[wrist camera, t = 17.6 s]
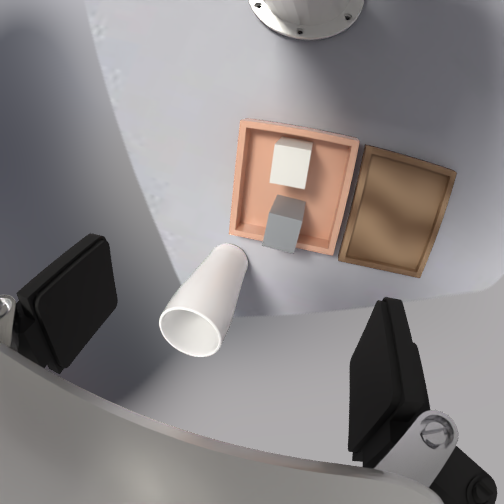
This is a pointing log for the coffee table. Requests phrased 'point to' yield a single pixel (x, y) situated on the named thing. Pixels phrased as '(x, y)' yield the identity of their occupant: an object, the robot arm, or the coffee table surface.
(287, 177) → the light grey rectangular box
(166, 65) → the coffee table surface
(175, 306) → the drinking glass
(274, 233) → the grey rectangular block
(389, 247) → the tray
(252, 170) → the dish
